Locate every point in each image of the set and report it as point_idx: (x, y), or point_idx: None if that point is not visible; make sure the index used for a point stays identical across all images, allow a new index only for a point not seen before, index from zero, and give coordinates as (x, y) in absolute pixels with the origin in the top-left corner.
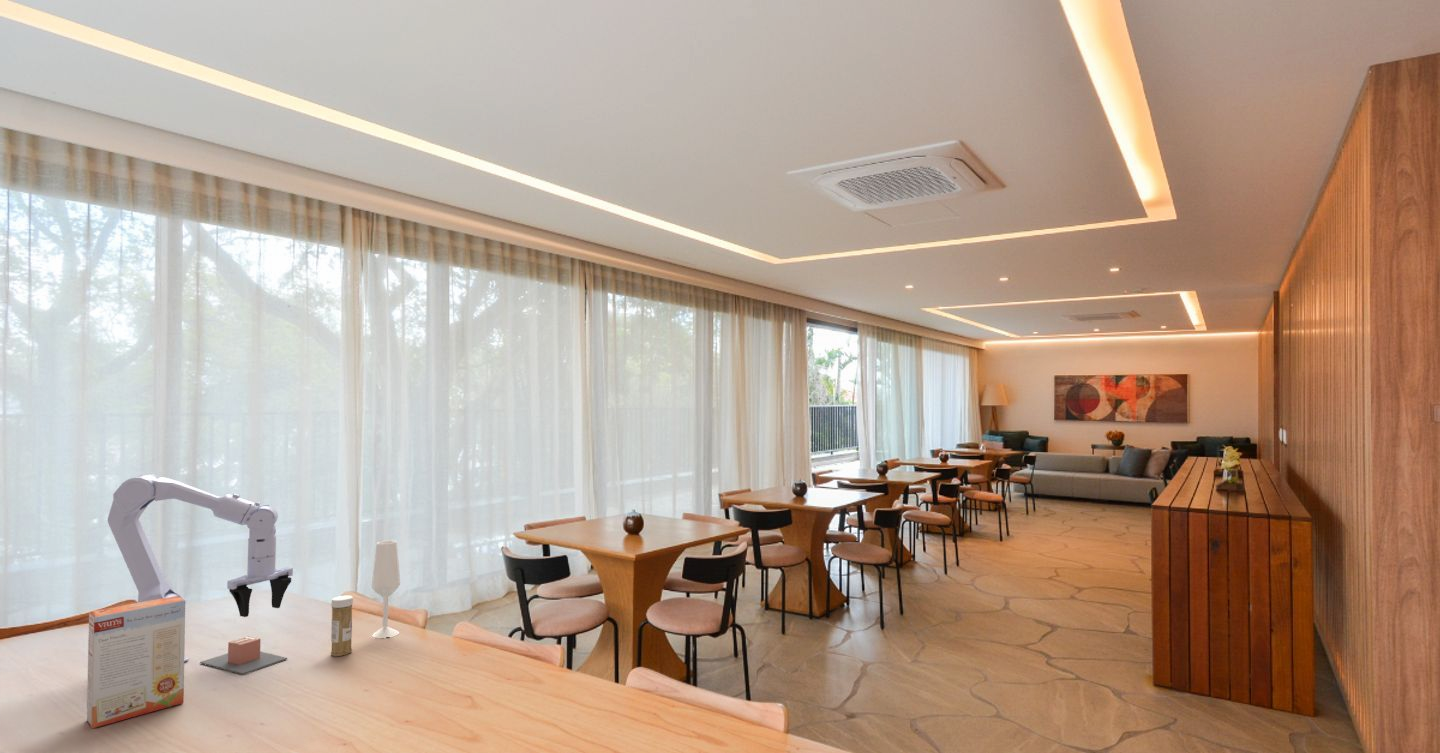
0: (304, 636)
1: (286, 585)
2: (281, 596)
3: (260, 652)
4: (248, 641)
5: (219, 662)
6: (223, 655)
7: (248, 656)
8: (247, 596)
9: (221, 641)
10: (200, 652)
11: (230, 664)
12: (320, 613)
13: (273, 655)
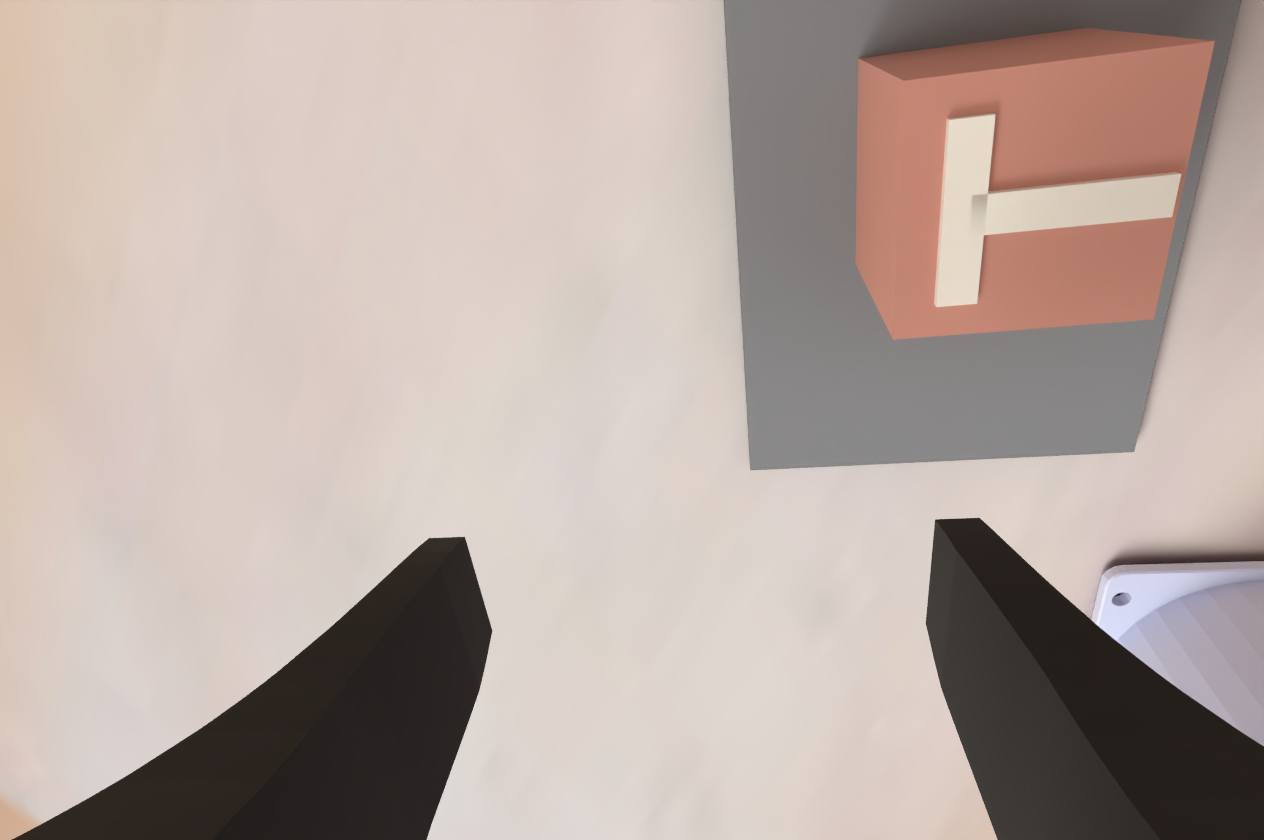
0: (307, 361)
1: (102, 824)
2: (338, 648)
3: (754, 236)
4: (1055, 105)
5: None
6: (946, 442)
7: (1012, 43)
8: (1235, 814)
9: (732, 728)
10: (933, 656)
11: None
12: (94, 709)
13: (740, 10)
